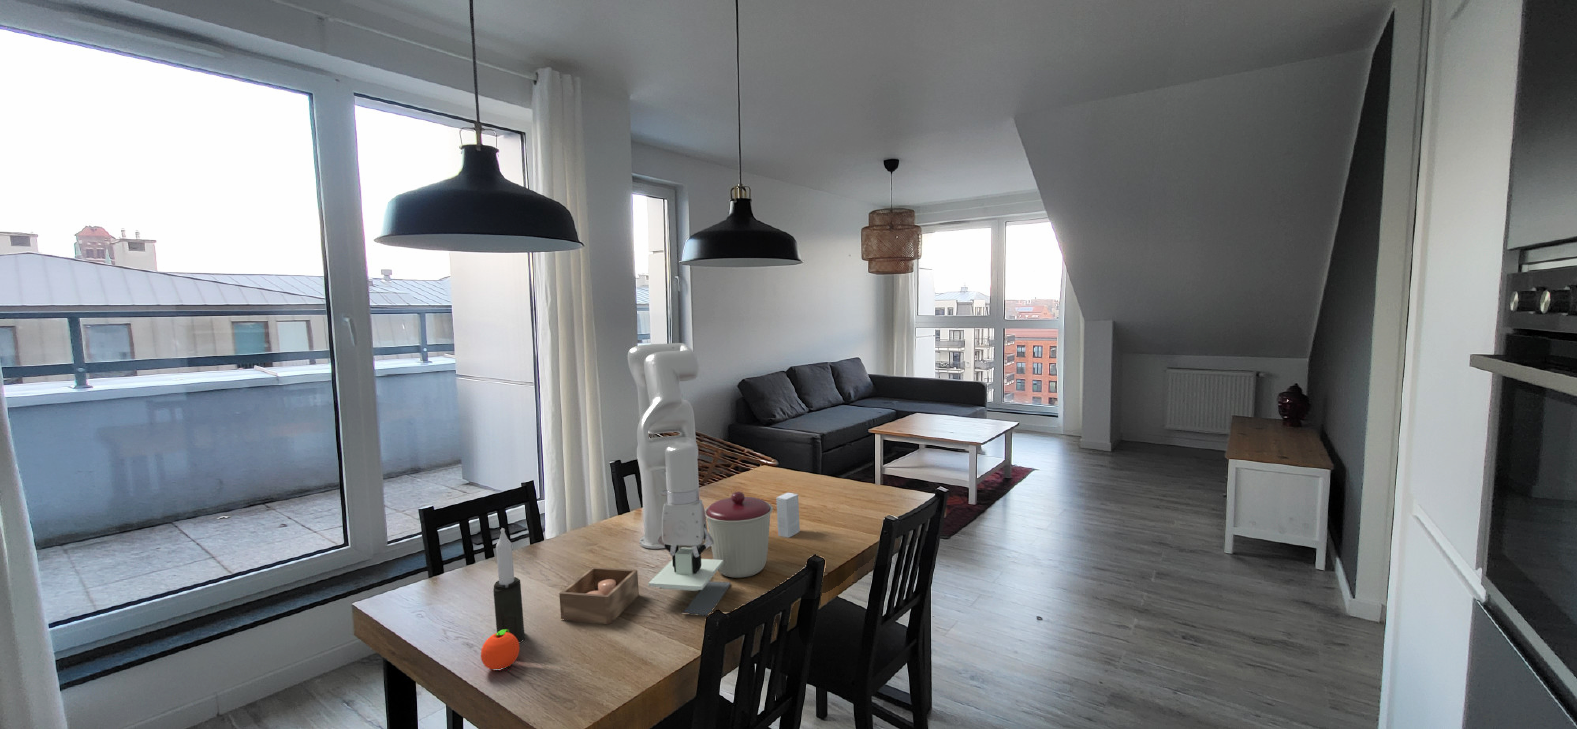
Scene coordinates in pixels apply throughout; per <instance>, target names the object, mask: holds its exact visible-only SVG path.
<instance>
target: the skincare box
mask: <svg viewBox="0 0 1577 729" xmlns="http://www.w3.org/2000/svg"><path fill="white" fill-rule="evenodd" d="M799 507H800V504H799V493H793V492H789V491H788V492H785V493H783V494H781V495H779V496H776V517H777V518H776V519H777V521H776V522H777V535H778V536H779V537H784V538H788V539H789V538H791V537H793V536H794V535H797V534H798V533H800V532H801V529H800V528H801V527H800V513H799V512H800V508H799Z"/></svg>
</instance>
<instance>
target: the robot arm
mask: <svg viewBox="0 0 1577 729" xmlns="http://www.w3.org/2000/svg"><path fill="white" fill-rule="evenodd" d="M627 364H628V368H629V370H630V373H631V376H632V378H633V381H634V383H635V385H636V389H637V397H638V398H637V402H638V416H639V422H638V425H637V429H636V440H637V446H636V458H637V462H638V467H639V473H640V481H641V494H642V498H641V499H642V513H643V514H642V515H643V529H644V530H643V531H644V534H643V535H642V536H641V537H640V538H639V545H640V546H641V547H643V548H645V549H650V550H652V549H653V550H658V549H659V550H660V549H666V550H667V552H668V553H669V555H670V556H671V557H672V559H671V560H672V561H673V567H674V572H676V562H675V553H676V552H677V551H678V550H679V549H680V546H682V547H691V548H692V549H693V553H694V556H693V557H692V566H693V573H697V571H698V570H699V569H700V568H701V559H702V553H703V552H704V551H705V550H706V549H708V548H710V547H711V545H712V544H713V543H714V540H713V539H712V537H711V536H710V534H709V530H708V523H707V518H706V515H705V507H704V503H703V500H702V499H701V498H700V484H699V466H698V464H699V463H698V461H699V460H698V459H699V447H698V443H697V442H696V441H697V438H696V424H695V422H696V421H695V413H694V408H693V406H692V403H691V402H690V401H688V400H686V399H683V395H682V391H681V384H680V382H688V381H695V380H696V379H697V378H698V376H699V371H700V370H699V369H700V368H699V361H698V358H697V356H696V354H695V352H694V350H693V349H692V348H691V347H689V345H688V344H686V343H685V342H671V343H651V344H650V343H649V344H648V343H647V344H641V345H636V346H633V347H631V348H630V349H629V350H628V352H627ZM673 432H678V435H671V436H670V435H669V436H660V437H651V438H650V437H649V434H653V435H654V434H664V433H673ZM704 541H705V542H704Z"/></svg>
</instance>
